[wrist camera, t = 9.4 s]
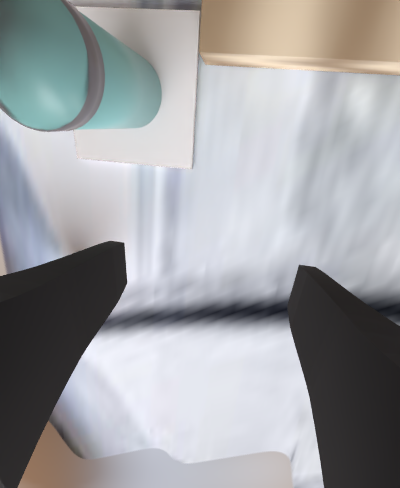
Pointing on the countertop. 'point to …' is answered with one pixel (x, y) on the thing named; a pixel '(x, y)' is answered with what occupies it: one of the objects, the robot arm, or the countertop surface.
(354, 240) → the countertop surface
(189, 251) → the countertop surface
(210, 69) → the countertop surface
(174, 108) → the mat
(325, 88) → the countertop surface
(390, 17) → the tan board with hole
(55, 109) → the plug
